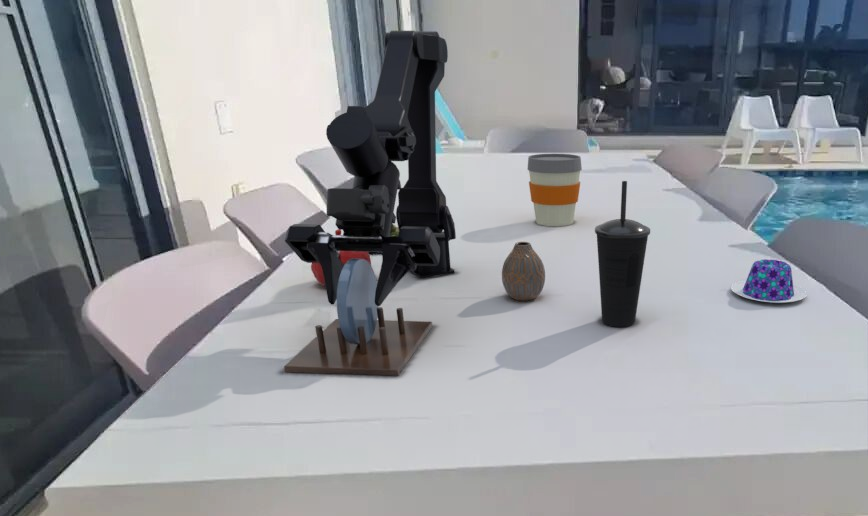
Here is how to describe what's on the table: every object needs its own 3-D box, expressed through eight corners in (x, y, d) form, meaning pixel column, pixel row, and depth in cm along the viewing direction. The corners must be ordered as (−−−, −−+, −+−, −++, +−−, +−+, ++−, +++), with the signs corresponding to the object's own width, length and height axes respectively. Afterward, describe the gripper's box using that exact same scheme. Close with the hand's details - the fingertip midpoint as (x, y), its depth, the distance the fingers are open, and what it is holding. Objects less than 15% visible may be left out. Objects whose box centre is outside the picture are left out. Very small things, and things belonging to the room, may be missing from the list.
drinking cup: (649, 315, 96) (658, 178, 87) (638, 333, 89) (646, 187, 81) (600, 309, 98) (604, 175, 89) (585, 326, 91) (588, 184, 83)
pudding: (716, 294, 104) (719, 263, 102) (752, 278, 112) (755, 249, 110) (785, 312, 97) (790, 279, 95) (818, 294, 105) (823, 263, 103)
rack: (336, 323, 92) (332, 295, 90) (432, 326, 91) (429, 298, 89) (284, 372, 77) (278, 339, 76) (398, 375, 77) (394, 343, 75)
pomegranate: (357, 271, 115) (350, 219, 112) (385, 283, 109) (379, 229, 105) (303, 282, 109) (294, 228, 105) (330, 296, 103) (321, 239, 99)
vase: (552, 293, 105) (552, 240, 101) (533, 306, 99) (532, 251, 95) (515, 287, 107) (514, 236, 104) (494, 300, 101) (492, 246, 98)
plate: (373, 328, 89) (365, 250, 85) (382, 328, 89) (373, 250, 85) (343, 357, 79) (331, 270, 75) (352, 357, 79) (341, 270, 75)
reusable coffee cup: (523, 226, 148) (521, 159, 142) (534, 215, 159) (533, 152, 153) (576, 229, 146) (577, 161, 140) (584, 217, 157) (585, 154, 151)
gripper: (277, 159, 79) (249, 271, 73) (426, 161, 77) (409, 275, 72) (315, 210, 89) (292, 312, 84) (446, 212, 88) (433, 316, 83)
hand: (354, 304), depth 80 cm, fingers open, 6 cm apart
